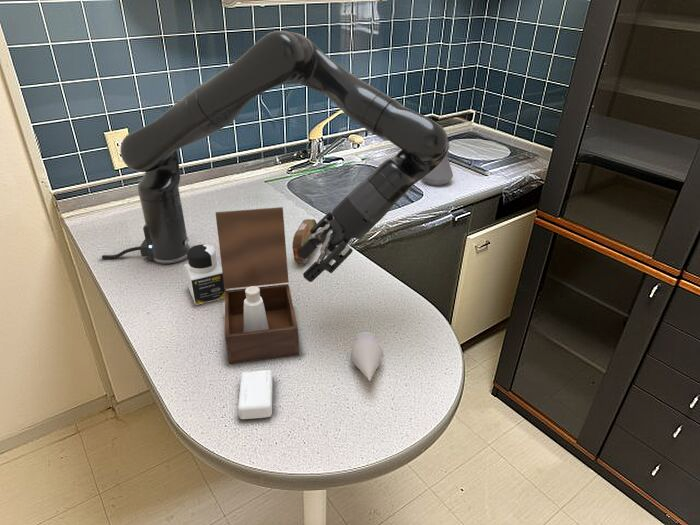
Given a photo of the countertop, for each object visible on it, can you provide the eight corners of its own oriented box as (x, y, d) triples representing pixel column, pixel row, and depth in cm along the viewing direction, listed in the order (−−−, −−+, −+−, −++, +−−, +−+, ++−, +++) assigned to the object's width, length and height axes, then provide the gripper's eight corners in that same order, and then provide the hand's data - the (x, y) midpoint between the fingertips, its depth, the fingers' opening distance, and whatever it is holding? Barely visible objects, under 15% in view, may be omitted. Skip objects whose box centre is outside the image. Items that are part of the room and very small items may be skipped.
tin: (303, 269, 124) (302, 240, 119) (291, 268, 124) (290, 238, 120) (318, 241, 136) (318, 214, 132) (307, 240, 137) (306, 213, 133)
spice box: (299, 354, 97) (297, 327, 93) (229, 364, 94) (225, 336, 90) (289, 309, 109) (288, 283, 106) (228, 316, 107) (224, 290, 103)
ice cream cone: (366, 401, 86) (362, 355, 100) (394, 383, 85) (386, 338, 99) (344, 379, 84) (343, 335, 98) (372, 359, 83) (367, 317, 97)
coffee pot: (455, 187, 172) (461, 145, 164) (423, 188, 171) (427, 145, 164) (441, 166, 190) (445, 127, 183) (411, 166, 190) (415, 127, 182)
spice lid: (282, 207, 101) (282, 207, 102) (215, 212, 98) (215, 212, 99) (288, 282, 105) (288, 281, 106) (224, 289, 103) (224, 288, 103)
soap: (272, 418, 83) (271, 406, 81) (239, 421, 82) (237, 408, 81) (272, 380, 90) (271, 368, 89) (242, 382, 90) (241, 370, 88)
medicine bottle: (195, 306, 110) (187, 259, 104) (188, 289, 115) (180, 244, 109) (227, 298, 113) (221, 252, 106) (219, 282, 118) (212, 238, 112)
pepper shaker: (267, 343, 98) (263, 297, 93) (240, 342, 98) (235, 296, 93) (272, 326, 103) (268, 282, 97) (246, 325, 103) (241, 281, 97)
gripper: (341, 181, 96) (284, 239, 99) (358, 212, 84) (293, 276, 87) (366, 205, 99) (311, 259, 103) (386, 237, 88) (323, 297, 91)
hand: (303, 267), depth 95 cm, fingers open, 8 cm apart
